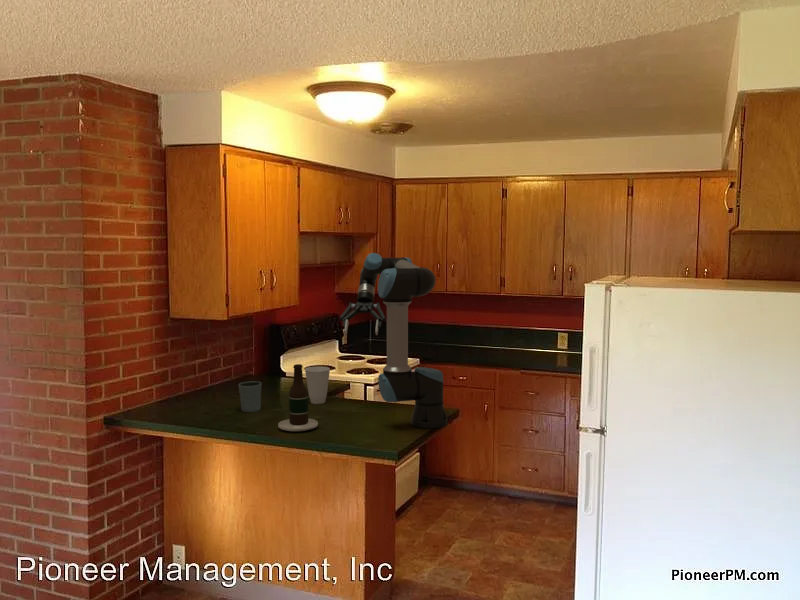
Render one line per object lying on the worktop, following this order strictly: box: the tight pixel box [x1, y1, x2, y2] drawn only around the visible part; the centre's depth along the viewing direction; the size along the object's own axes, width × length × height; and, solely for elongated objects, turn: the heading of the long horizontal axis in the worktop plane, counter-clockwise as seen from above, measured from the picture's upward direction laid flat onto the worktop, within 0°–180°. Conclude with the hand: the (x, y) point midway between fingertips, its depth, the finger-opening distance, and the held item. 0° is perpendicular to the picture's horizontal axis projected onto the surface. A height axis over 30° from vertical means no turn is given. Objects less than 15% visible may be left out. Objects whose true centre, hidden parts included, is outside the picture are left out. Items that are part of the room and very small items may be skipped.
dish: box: [277, 418, 319, 433], centre depth 280 cm, size 16×16×2 cm
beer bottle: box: [288, 363, 309, 425], centre depth 279 cm, size 8×8×24 cm
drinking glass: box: [237, 380, 262, 413], centre depth 311 cm, size 10×10×12 cm
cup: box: [304, 366, 331, 405], centre depth 324 cm, size 12×12×16 cm
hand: (360, 333), depth 300 cm, fingers open, 13 cm apart
